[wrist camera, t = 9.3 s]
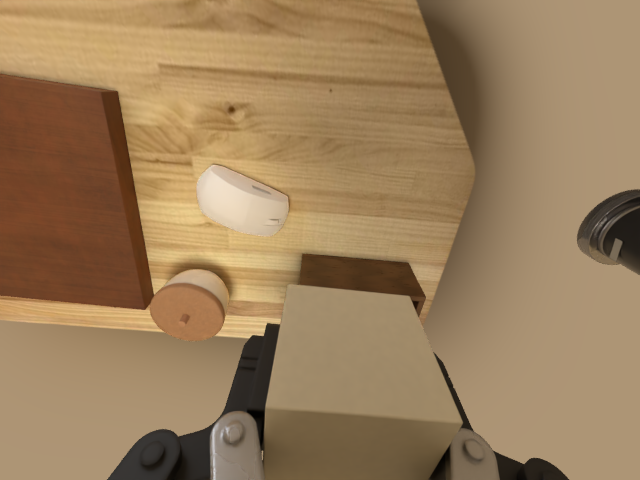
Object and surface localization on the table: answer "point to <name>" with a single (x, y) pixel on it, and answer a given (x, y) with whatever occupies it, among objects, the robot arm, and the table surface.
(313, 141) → the table surface
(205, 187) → the computer mouse
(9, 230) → the brown flat wooden slab
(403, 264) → the chest
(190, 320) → the trinket box
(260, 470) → the robot arm
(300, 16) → the table surface
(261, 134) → the table surface
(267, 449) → the block
